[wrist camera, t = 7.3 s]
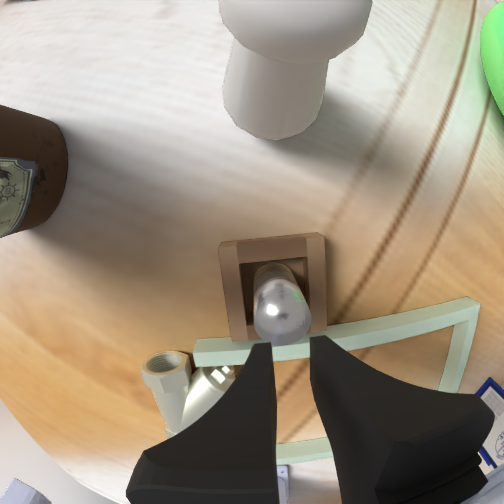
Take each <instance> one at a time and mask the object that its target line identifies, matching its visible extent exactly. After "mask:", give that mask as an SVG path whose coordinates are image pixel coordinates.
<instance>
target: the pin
mask: <svg viewBox="0 0 504 504" xmlns="http://www.w3.org/2000/svg"><path fill="white" fill-rule="evenodd" d="M253 288H254V326H255V330H256V332H257V334H258V335H259V336H260V337H261V338H262V339H263V340H264V341H266V342H271V344H273V345H279V346H283V345H289V344H292V343H295V342H297V341H298V340H300V339H301V338H302V337H303V336H304V335H305V334H306V333H307V331H308V330H309V327H310V325H311V312H310V309H309V307H308V305H307V303H306V301H305V299H304V296H303V294H302V292H301V290H300V288H299V286H298V284H297V282H296V280H295V277H294V275H293V273H292V272H291V270H290V269H289V268H288V267H287V266H285V265H284V264H281V263H276V262H274V263H268V264H265V265H263V266H262V267H261V268H260V269H259V270H258V271H257V272H256V274H255V276H254V281H253Z"/></svg>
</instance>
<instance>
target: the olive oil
mask: <svg viewBox="0 0 504 504" xmlns="http://www.w3.org/2000/svg"><path fill="white" fill-rule="evenodd" d="M67 163H68V161H67V149H66V144H65V141H64V138H63V135H62V133H61V131H60V130H59V128H58V127H57V126H56V125H55V124H54V123H53V122H51V121H49V120H47V119H45V118H42V117H39V116H36V115H32V114H29V113H26V112H23V111H19V110H16V109H12V108H9V107H6V106H3V105H0V238H2V237H5V236H7V235H10V234H13V233H17V232H20V231H23V230H27V229H30V228H33V227H36V226H38V225H40V224H42V223H43V222H45V221H46V220H47V219H48V218H49V217H50V216H51V214H52V213H53V212H54V210H55V209H56V207H57V205H58V203H59V201H60V199H61V196H62V193H63V190H64V186H65V182H66V176H67Z"/></svg>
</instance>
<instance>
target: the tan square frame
mask: <svg viewBox="0 0 504 504" xmlns="http://www.w3.org/2000/svg"><path fill="white" fill-rule="evenodd" d="M218 252H219V259H220V267H221V274H222V281H223V288H224V295H225V301H226V308H227V314H228V321H229V327H230V334H231V340H232V342H236V341H248V340H259V339H262V338H261V337H260V336H259V335H258V334H257V332H256V330H255V326H254V314H248V315H247V312H246V304H245V296H244V288H243V280H242V272H241V263H250V262H260V261H270V260H279V259H288V258H298V257H303V264H304V281H305V300H306V303H307V305H308V307H309V309H310V312H311V325H310V327H309V330H308V331H307V333H306V334H310V333H317V332H324V331H327V294H326V264H325V244H324V236H322V235H321V234H319V233H318V232H316V233H306V234H296V235H286V236H277V237H267V238H257V239H248V240H239V241H229V242H221V244H220V245H219V247H218Z"/></svg>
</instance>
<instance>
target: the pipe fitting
mask: <svg viewBox="0 0 504 504" xmlns="http://www.w3.org/2000/svg"><path fill="white" fill-rule="evenodd" d="M234 371H235V368H234V366H233V365H227V366H207V367H199V368H198V369H197V370H196V371H195V372H194V373H193V374H192V375H191V373H192V368H191V364H190V361H189V357H188V355H186V354H184V353H181V352H178V351H172V350H170V351H162V352H158V353H155V354H153V355H151V356H149V357H148V358H146V359H145V361H144V362H143V365H142V368H141V375H142V377H143V380H144V383H145V385H146V386H147V387H149V388H150V389H151V390H152V393H153V395H154V398H155V400H156V403H157V405H158V407H159V410H160V412H161V415H162V417H163V419H164V421H165V432H166V434H167V436H168V438H171V437H173V436H175V435H176V434H178V433H179V432H181V431H183V430H184V429H186V428H187V427H188V426H190V425H191V424H193V423H194V422H195V421H197V420H198V419H199V418H200V417H201V416H203V415H204V414H205V413H206V412H207V411H208V410H209V409H210V408H211V407H212V406H213V405H214V404H215V403H216V402H217V401H218V400H219V399H220V398H221V397H222V396H223V394H224V393H225V392H226V391H227V389H228V388H229V387H230V385H231V384H232V383H233V381H234V380H235V373H234Z"/></svg>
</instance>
